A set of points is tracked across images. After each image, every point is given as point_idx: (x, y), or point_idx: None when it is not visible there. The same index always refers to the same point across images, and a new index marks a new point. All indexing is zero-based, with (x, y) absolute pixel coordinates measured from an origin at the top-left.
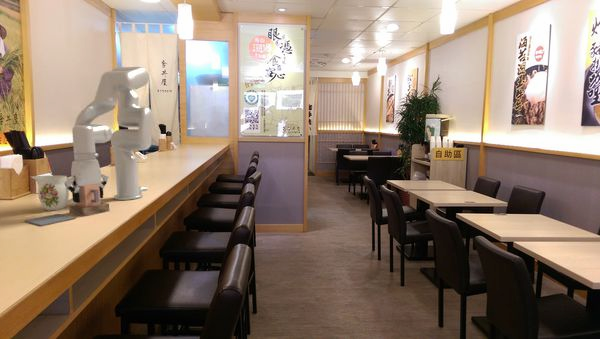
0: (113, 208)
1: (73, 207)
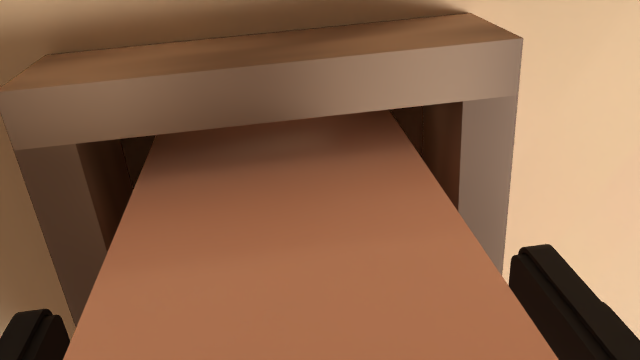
0: (567, 249)
1: (50, 227)
